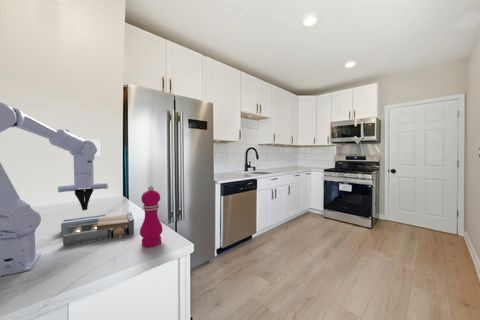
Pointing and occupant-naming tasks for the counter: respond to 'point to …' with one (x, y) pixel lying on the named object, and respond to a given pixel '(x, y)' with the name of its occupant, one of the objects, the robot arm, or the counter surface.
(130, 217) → the stop rail
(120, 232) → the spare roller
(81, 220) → the roller stand
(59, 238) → the counter surface
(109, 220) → the slab
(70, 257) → the counter surface
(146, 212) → the pepper mill
